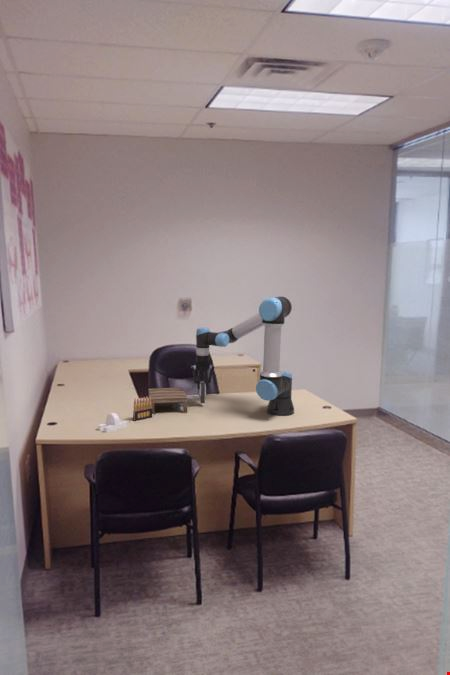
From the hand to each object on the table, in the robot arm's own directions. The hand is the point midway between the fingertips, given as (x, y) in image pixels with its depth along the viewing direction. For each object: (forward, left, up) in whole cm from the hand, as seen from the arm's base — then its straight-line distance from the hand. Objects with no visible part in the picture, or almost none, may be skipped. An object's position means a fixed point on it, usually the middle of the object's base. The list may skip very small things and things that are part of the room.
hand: (202, 394), depth 290 cm
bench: (0, +20, -7) cm, 21 cm away
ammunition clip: (-19, +35, -7) cm, 40 cm away
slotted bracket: (-32, +50, -7) cm, 60 cm away
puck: (0, +15, -7) cm, 16 cm away
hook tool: (0, +6, -4) cm, 8 cm away
